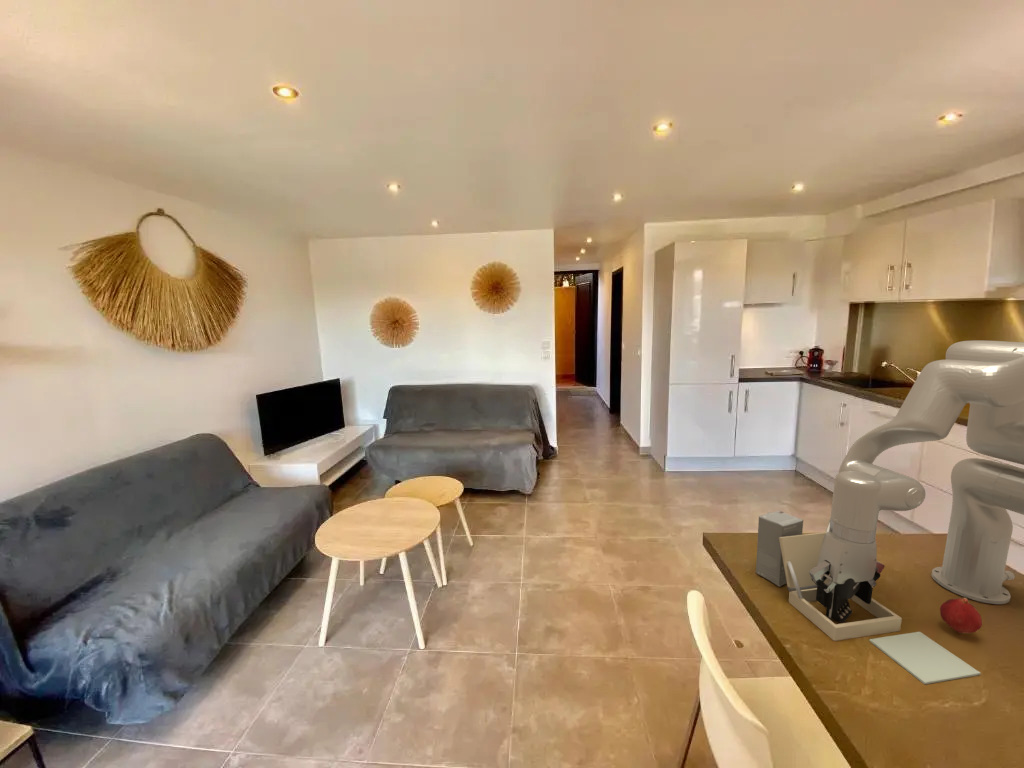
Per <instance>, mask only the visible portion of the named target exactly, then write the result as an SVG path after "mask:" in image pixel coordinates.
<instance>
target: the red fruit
mask: <svg viewBox="0 0 1024 768" xmlns="http://www.w3.org/2000/svg"><path fill="white" fill-rule="evenodd" d="M968 599H969V598H966V597H962V598H952V599H948V600H946V601H944V602H943V603H941V605H940V607H939V613H940V617H941V619H942V621H943V622H945V624H947V625H948V627H950V628H951V629H953V631H954V632H955V633H958V634H973V633H976V632H978V631H979V630H980V629H981V628H982V626H983V621H982V617H981V614H980V613H979V611H978V610H977V609H976V608H975V607H974V606H973V605H972V604H971V603H969V600H968Z"/></svg>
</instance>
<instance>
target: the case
mask: <svg viewBox="0 0 1024 768" xmlns="http://www.w3.org/2000/svg"><path fill="white" fill-rule="evenodd" d="M825 534H826V531H824V532H823V531H822V532H815V533H805V534H802V535H795V536H786V537H779V541H780V547H781V552H782V558H783V563H784V569H785V574H786V580H787V583H786V585H787V590H788V591H789V595H788V603H789V604H791V605H792V606H793V607H794V608H795V609H796V610H798V611H799V613H801V614H802V615H803V616H804V617H806V618H807V619H808V620H809V621H811V623H813V624H814V625H815V626H816V627H817V628H819V629H820V630H821V631H822V632H823V633H825V634H826V635H827V636H828V637H829V638H830V639H831V640H832V641H834V642H835V641H842V640H849V639H856V638H861V637H862V638H863V637H868V636H875V635H881V634H888V633H895V632H901V626H902V625H901V624H902V619H903V618H902V617H901V616H899V615H898V614H896V613H895V612H894V611H892V610H891V609H889V608H888V607H886V606H885V605H883V604H882V603H880V602H879V601H877V600H876V599H874V598H873V597H872V599H871V604H867V603H865V602H864V601H862V600H861V599H860V598H858V597H857V596H855V595H854V596H853V597H852V598H851V599H850V600H852V601H853V602H855V603H856V604H857V605H859V607H860V606H861V607H862V608H863V609H865V611H867V612H869V613H870V614H872V615H873V616H874V617H875V618H871V619H864V620H857V621H851V622H841V623H838V624H837V623H834V622H833V620H832V619H830V618H829V617H827V616H826V614H825V615H824V614H823V613H822V612H821V611H819V609H817V608H816V607H815V606H814V605H812V604H811V602H818V601H817V600H816V594H817V585H816V584H815V583H814V582H813V581H812V578H811V576H810V573H809V571H810V570H811V569H813V568H814V567H816V566H817V563H818V557H819V552H820V548H821V544H822V541H823V539H824V536H825ZM829 576H830V574H829ZM829 581H830V580H829V579H826V580H825V581H824V583H825V584H826V585H827V584H828V583H829Z"/></svg>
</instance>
